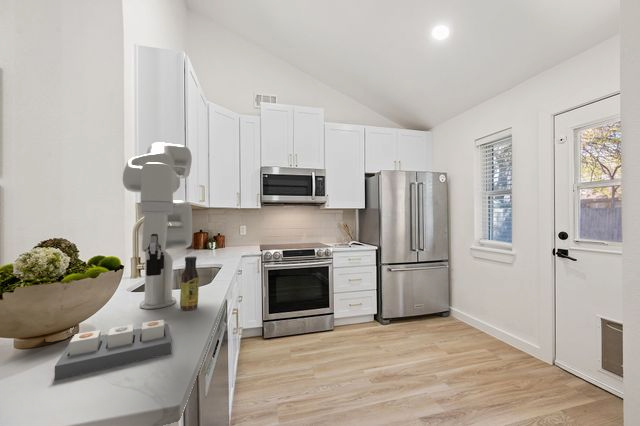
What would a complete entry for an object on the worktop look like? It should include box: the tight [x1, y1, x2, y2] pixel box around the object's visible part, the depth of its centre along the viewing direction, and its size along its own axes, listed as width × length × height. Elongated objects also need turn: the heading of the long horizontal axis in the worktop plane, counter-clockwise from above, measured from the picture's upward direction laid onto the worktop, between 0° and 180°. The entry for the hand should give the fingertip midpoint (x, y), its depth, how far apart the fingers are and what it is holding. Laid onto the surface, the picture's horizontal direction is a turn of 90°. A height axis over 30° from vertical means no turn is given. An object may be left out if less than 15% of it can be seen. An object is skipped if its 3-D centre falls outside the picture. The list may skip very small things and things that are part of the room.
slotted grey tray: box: [53, 323, 172, 381], centre depth 70 cm, size 14×22×3 cm, turn 122°
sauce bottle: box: [179, 256, 200, 312], centre depth 104 cm, size 6×6×20 cm
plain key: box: [107, 324, 135, 348], centre depth 70 cm, size 5×5×4 cm
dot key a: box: [141, 319, 165, 341], centre depth 73 cm, size 5×5×4 cm
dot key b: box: [69, 329, 102, 356], centre depth 66 cm, size 5×5×4 cm
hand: (155, 272), depth 73 cm, fingers open, 9 cm apart
